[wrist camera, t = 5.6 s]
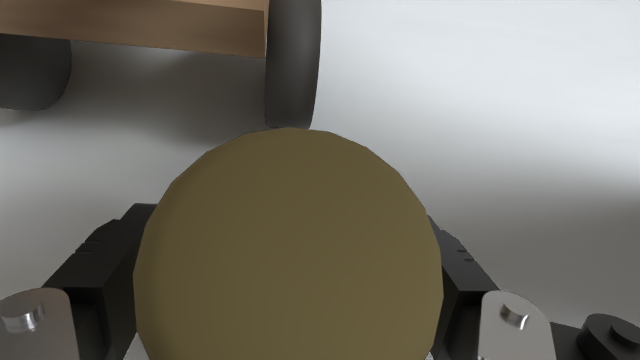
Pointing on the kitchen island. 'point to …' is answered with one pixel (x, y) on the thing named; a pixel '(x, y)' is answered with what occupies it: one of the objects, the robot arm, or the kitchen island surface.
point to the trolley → (163, 44)
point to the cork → (288, 256)
